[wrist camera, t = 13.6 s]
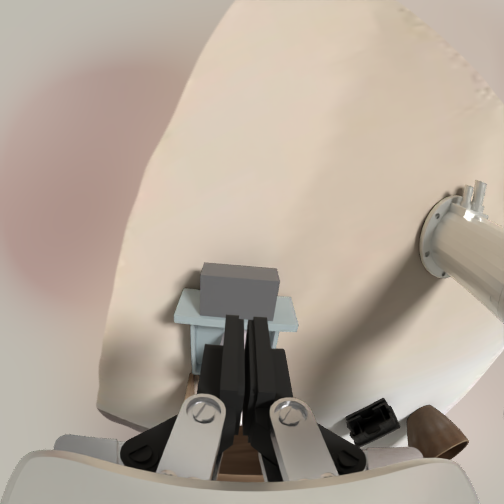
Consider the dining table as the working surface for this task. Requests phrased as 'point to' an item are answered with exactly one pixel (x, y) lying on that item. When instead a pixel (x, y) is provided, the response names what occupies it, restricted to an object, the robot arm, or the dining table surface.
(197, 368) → the tray
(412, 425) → the plant pot
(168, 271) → the dining table surface
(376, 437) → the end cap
